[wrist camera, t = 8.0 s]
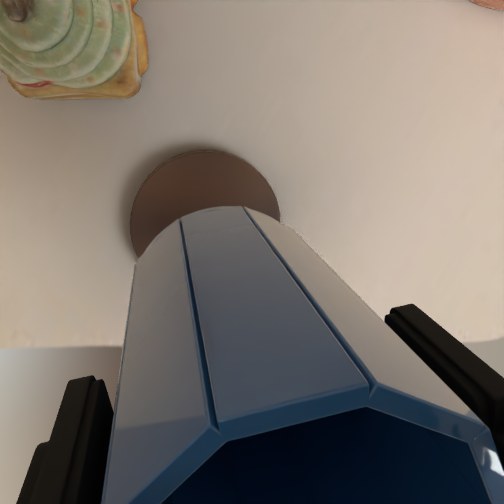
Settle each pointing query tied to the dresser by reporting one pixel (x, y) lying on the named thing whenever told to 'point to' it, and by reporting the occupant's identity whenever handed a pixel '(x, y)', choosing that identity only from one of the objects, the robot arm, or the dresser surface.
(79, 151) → the dresser surface
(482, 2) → the orange bowl
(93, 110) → the dresser surface
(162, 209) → the coaster
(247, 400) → the blue cup
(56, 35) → the cucumber toast
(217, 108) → the dresser surface
